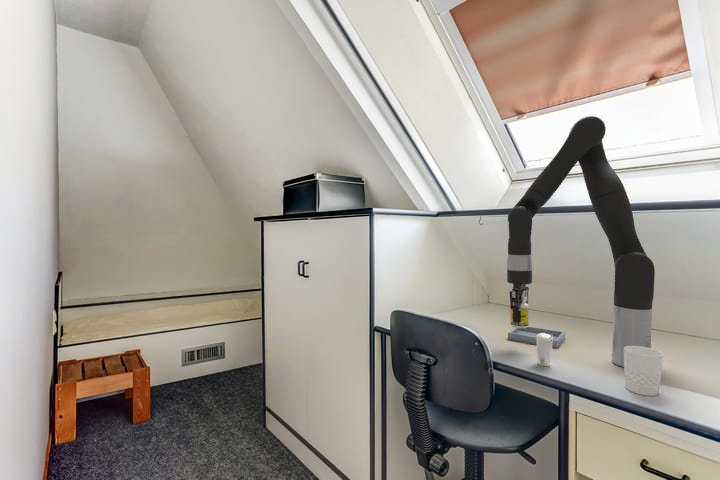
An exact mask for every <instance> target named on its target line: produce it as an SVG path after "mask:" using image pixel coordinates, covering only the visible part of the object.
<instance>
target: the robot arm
mask: <svg viewBox="0 0 720 480" xmlns="http://www.w3.org/2000/svg"><path fill="white" fill-rule="evenodd" d="M568 133H569V134H568V136H567V138H566V139H565V141H564V143H563V144H562V146H561V148H560V149H559V150H558V152H557V153H556V154H555V156H554V157H553V158H551V159H552V160H550V162H549V163H548V164H547V165H546V167H545V168H544V169H543V170H542V171H541V172H540V173H539V175H538V176H537V177H536V178H535V180H534V181H533V182H532V183H531V184H530V186H529V187H528V188H527V190H526V191H525V193H524V195H522V197H521V198H520V200H519V201H518V202H517V203H516V204H515V205H514V206H513V207H512V208H511V210H510V211H509V212H508V214H507V223H508V239H507V240H508V241H507V258H506V259H507V261H506V264H507V265H506V281H507V283H508V284H512V285H513V286H512V289H511V290H510V291H509V303H510V304H509V305H510V306H509V307H510V310H511V309H512V310H513V322H517V323H520V322H521V305H522V304H523V302H524V296H525V297H526V302H525V303H527V304H528V305H529V291H530V288H529V286H526V285H531V284H532V283H533V257H532V240H531V239H532V232H533V231H532V229H533V218H534V217H535V216H536V214H537V213H538V211H539V210H540V209H541V208H542V207H543V206H544V205H546V203H548V202H549V200H550V199H551V198H552V196H553V195H554V194H555V193H556V192H557V190H559V188H560V186H561V185H562V183H564V181H565V179H566V178H567V176H568V175H569V173H570V172H572V169H573V168H574V167H575V165H577V164H579V166H580V168H581V171H582V175H583V180H584V183H585V186H586V190H587V193H588V197H589V200H590V203H591V205H592V209H593V211H594V213H595V216H596V218H597V220H598V222H599V224H600V226H601V229H602V230H603V232H604V234H605V236H606V238H607V240H608V242H609V243H608V244H609V245H610V250H611V253H612V257H613V264H614V289H613V290H614V291H613V314H612V315H613V316H612V345H611V346H612V347H611V350H612V351H611V352H612V353H611V361H612V363H613V364H615V365H616V366H619V367H621V368H624V347H625V346H641V347H647V348H652V321H653V317H652V315H653V302H654V296H655V295H654V291H655V274H656V272H655V271H656V270H655V265H654V264H655V263H654V262H653V260H652V259H651V258H650V257H649V256H648V254H647V253H646V251H645V250H644V247H643V245H642V243H641V241H640V239H639V236H638V234H637V231H636V227H635V220H634V215H633V214H634V213H633V209H632V205H631V203H630V199H629V197H628V194H627V191H626V189H625V188H626V187H625V186H624V184H623V182H622V180H621V179H620V177H619V175H618V174H617V173H616V171H615V170H614V169H613V167H612V166H611V164H610V162H609V161H608V158H607V155H606V151H605V148H604V143H603V139H604V138H605V135H606V124H605V122H604V120H603V119H601V118H600V117H598V116H594V115H589V116H584V117H582V118H580V119H578V120H577V121H576V122H574V124H573V125H572V127H571V129H570V130H569V132H568ZM519 300H520V301H519ZM515 304H517V306H515Z"/></svg>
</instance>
